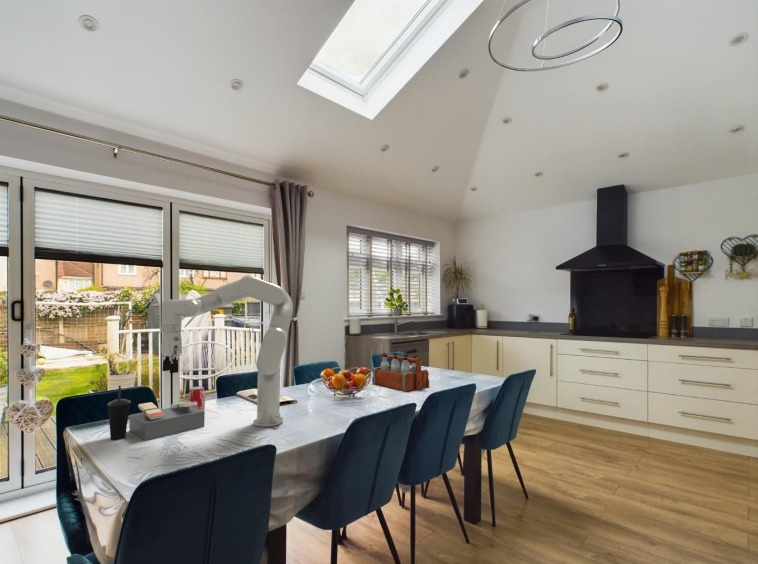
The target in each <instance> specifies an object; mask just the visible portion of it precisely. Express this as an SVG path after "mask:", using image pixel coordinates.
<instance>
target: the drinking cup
mask: <svg viewBox="0 0 758 564" xmlns="http://www.w3.org/2000/svg"><path fill="white" fill-rule="evenodd" d="M121 387H122V386H121V385H119V386H118V394H117V395H118V398H117V399H116V398H115V399H114V400H112V401H109V402H108V403H107V405H106V406H107V408H108V421H109V423H108V424H109V436H110V440H111V441H118V440H119V441H120V440H122V439H125V438H126V437H127V436H126V435H127V428H128V427H127V426H128V419H129V412H130V404H131V403H132V401H131V400H129V399H126V398H121V397H122V395H121V391H122V389H121Z"/></svg>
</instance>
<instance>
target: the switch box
mask: <svg viewBox="0 0 758 564" xmlns="http://www.w3.org/2000/svg"><path fill="white" fill-rule="evenodd" d="M159 409H160V410H161V411H162V412H163V413H164V414H165V416H164V417H162V418H158V419H153V420H150V419H149V418H148V417H147V416H146V415H145V414H144V413H143V412H138V413H133V414H130V415H129V425H128V426H129V430H128V431H129V432H130V433H132V434H133V435H135V436H137V437H138V438H139V439H141V440H143V441H144V442H145V441H150V440H154V439H159V438H163V437H167V436H170V435H175V434H180V433H183V432H188V431H192V430H197V429H200V428H205V417H206V416H205V415H206V413H205V410H204V411H203V410H200V409H198V408H195V407H193V406H188V407H171V406H170V407H164V408H159Z"/></svg>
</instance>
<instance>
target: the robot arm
mask: <svg viewBox="0 0 758 564" xmlns="http://www.w3.org/2000/svg"><path fill="white" fill-rule="evenodd" d="M249 297H250V298H252V299H255V300H258V301H260V302H263V303H265V304H269V305H270V306H271V305H272V306H273V311H272V314H271V318H270V322H269V325H268V329H267V330H266V332H265V334H264V335H263V339H262V341H261V346H260V348H259V352H258V355H257V358H256V363H255V366H256V369H257V388H256V389H257V404H256V418H255V419H253V420H252V424H253V425H254V426H255V427H260V428H266V427H267V428H268V427H275V426H279V425H282V423H284V417H281V412H280V411H281V409H280V404H281V402H280V394H281V393H280V391H281V363H282V362H281V361H282V358H283V354H284V351H285V347H286V345H287V340H288V333H289V328H290V325H291V320H292V316H293V311H294V307H293V305H294V304H293V300H292V298H291V296H290V295H289V293H287V291H286V290H285V289H283V288H282V287H281V286H280V285H276V284H274V283H271V282H268V281H266V280H263V279H260V278H259V277H257V276H256V277H255V276H253V275H250V274H249V275H244V276H243V277H241V279H236V280H235V281H233V282H229V283H226V284H223V285H220V286H219V287H217V288H215V290H213V291H212V292H210V293H207V294H205V295H202V296H198V297H196V298H187V299H164V300H163V301H162V302H161V324H160V325H161V329H160V330H161V331H160V332H161V333H162V336H161V345H160V347H161V356H162V372H167V371H168V372H169V373H170V374H175V373H179V364H180V357H181V356H182V355H183V343H182V341H183V339H182V338H183V337H182V318H183V317H186V318H192V317H198V316H201V315H203V314H206V313H208V312H212V311H214V310H216V309H219V308H222V307H225V306H229V305H231V304H234V303H236V302H239V301H241V300H244V299H247V298H249Z"/></svg>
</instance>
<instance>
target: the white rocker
mask: <svg viewBox="0 0 758 564" xmlns="http://www.w3.org/2000/svg"><path fill="white" fill-rule="evenodd" d="M193 405H197V402H189V401H181V402H177V403H176V402H175V403H172V404H170V407H188V406H193Z"/></svg>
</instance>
